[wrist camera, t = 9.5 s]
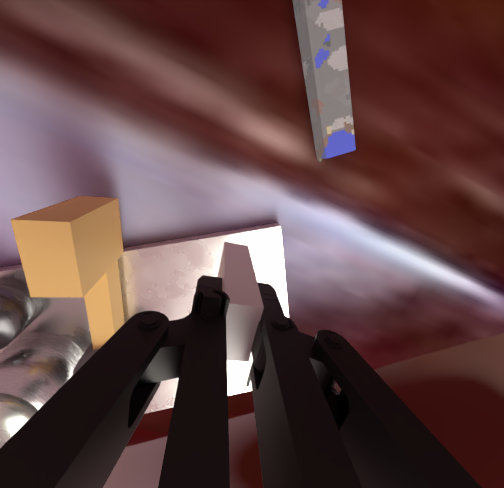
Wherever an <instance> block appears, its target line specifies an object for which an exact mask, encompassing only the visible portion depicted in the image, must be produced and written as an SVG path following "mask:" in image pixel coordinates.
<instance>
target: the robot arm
mask: <svg viewBox="0 0 504 488" xmlns="http://www.w3.org/2000/svg"><path fill="white" fill-rule="evenodd" d="M251 352H252V359H253V361H252V365H251V368H250V372H249V375H248V379H247V383H246V387H249V384H250V381H251V385H252V393H253V402H254V410H255V418H256V427H257V436H258V444H259V453H260V461H261V469H262V478H263V487H264V488H481V487H480V485H479V484H478V483H477V482H476V481H475V480H474V479H473V478H472V477H471V476H470V475H469V473H468V472H467V471H466V470H465V469H464V468H463V467H462V466H461V465H460V464H459V462H458V461H457V460H456V459H455V458H454V457H453V456H452V455H451V454H450V453H449V452H448V451H447V449H445V447H444V446H443V445H442V444H441V443H440V442H439V441H438V440H437V439H436V437H435V436H434V435H433V434H432V433H431V432H430V431H429V430H428V429H427V428H426V426H425V425H423V423H422V422H421V421H420V420H419V419H418V418H417V417H416V416H415V414H414V413H413V412H412V411H411V410H410V409H409V408H408V407H407V406H406V405H405V404H404V402H403V401H402V400H401V399H400V398H399V397H398V396H397V395H396V394H395V393H394V392H393V391H392V389H391V388H390V387H389V386H388V385H387V384H386V383H385V382H384V381H383V380H382V379H381V377H380V376H379V375H378V374H377V373H376V372H375V371H374V370H373V369H372V368H371V367H370V365H369V364H368V363H367V362H366V361H365V360H364V359H363V358H362V357H361V356H360V355H359V353H358V352H357V351H356V350H355V349H354V348H353V347H352V346H351V345H350V344H349V343H348V341H347V340H346V339H344V338H343V337H342V336H341V335H339V334H337V333H336V332H333V331H330V330H321V331H319V332H318V333H317V334H316V337H312V336H309V335H306V334H304V333H301V332H299V331H298V329H297V327H296V325H295V323H294V322H293V321H292V320H291V319H289V318H288V317H286V316H285V315H284V312H283V309H282V307H281V304H280V302H279V298H278V297H277V293H276V290H275V289H274V288H273V287H272V286H271V285H270V284H266V283H259V282H257V279H256V275H255V271H254V267H253V263H252V259H251V256H250V252H249V248H248V246H247V245H241V244H235V243H229V242H224V246H223V251H222V256H221V261H220V267H219V272H218V277H213V276H206V275H202V276H201V277H200V278H199V279H198V281H197V286H196V292H195V294H194V299H193V305H192V311H191V313H190V314H189V315H187V316H186V317H184V318H181V319H178V320H171V321H169V319H168V317H167V316H166V315H165V314H163V313H160V312H158V311H143V312H139V313H136V314H135V315H133V316H132V317H131V318H130V319H129V320H128V321H127V322H126V323H125V324H124V325H123V326H122V327H121V328H120V329H119V330H118V331H117V332H116V333H115V334H114V335H113V336H112V337H111V338H110V339H109V340H108V341H107V342H106V343H105V344H104V345H103V346H102V347H101V348H100V349H99V350H98V351H97V352H96V353H95V354H94V355H93V356H92V357H91V358H90V359H89V360H88V361H87V362H86V363H85V364H84V365H83V366H82V367H81V368H80V369H79V370H78V371H77V372H76V373H75V374H74V375H73V376H72V377H71V378H70V379H69V380H68V381H67V382H66V383H65V384H64V385H63V386H62V387H61V388H60V389H59V390H58V391H57V392H56V393H55V394H54V395H53V396H52V397H51V398H50V399H49V400H48V401H47V402H46V403H45V404H44V405H43V406H42V407H41V408H40V409H39V410H38V411H37V412H36V413H35V414H34V415H33V416H32V417H31V418H30V419H29V420H28V421H27V422H26V423H25V424H24V425H23V426H22V427H21V428H20V429H19V430H18V431H17V432H16V433H15V434H14V435H13V436H12V437H11V438H10V439H9V440H8V441H7V442H6V443H5V444H4V445H3V446H2V447H1V448H0V488H103V486H104V484H105V483H106V481H107V479H108V477H109V476H110V474H111V472H112V470H113V468H114V467H115V465H116V463H117V461H118V459H119V458H120V456H121V454H122V452H123V450H124V449H125V447H126V445H127V443H128V442H129V440H130V438H131V436H132V434H133V433H134V431H135V429H136V427H137V425H138V424H139V422H140V420H141V418H142V417H143V415H144V413H145V411H146V409H147V408H148V406H149V404H150V402H151V400H152V399H153V397H154V395H155V393H156V392H157V390H158V388H159V386H160V384H161V381H165V380H170V379H174V378H179V380H178V385H177V390H176V396H175V401H174V406H173V412H172V417H171V422H170V428H169V433H168V438H167V444H166V449H165V454H164V459H163V465H162V470H161V475H160V481H159V486H158V488H230V479H229V435H228V388H227V360H233V361H244V362H249V359H250V355H251ZM336 382H337V384H338V385H339V386H340V388H341V389H342V390H341V392H340V393H338V392H337V391H336V390H335V388H334V386H335V384H336Z"/></svg>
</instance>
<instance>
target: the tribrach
mask: <svg viewBox="0 0 504 488" xmlns="http://www.w3.org/2000/svg"><path fill="white" fill-rule="evenodd" d="M224 242H229V243H235V244H241V245H247V246H248V248H249V252H250V256H251V259H252V263H253V267H254V271H255V275H256V279H257V282H259V283H266V284H270V285H271V286H272V287H273V288H274V289H275V290H276V293H277V297H278V298H279V302H280V304H281V307H282V309H283V312H284V315H285V316H286V317H288V318H289V311H288V300H287V288H286V277H285V266H284V254H283V243H282V231H281V225H280V224H279V223H272V224H266V225H260V226H254V227H248V228H242V229H235V230H229V231H223V232H217V233H211V234H204V235H198V236H192V237H186V238H180V239H173V240H167V241H161V242H155V243H149V244H142V245H136V246H130V247H124V248H123V250H124V253H123V254H122V255H121V256H120V257H119V258H118V268H119V277H120V285H121V294H122V303H123V312H124V321H125V323H126V322H127V321H128V320H129V319H130V318H131V317H132V316H133V315H135V314H136V313H139V312H143V311H158V312H160V313H163V314H165V315H166V316H167V317H168V319H169V321H171V320H178V319H181V318H184V317H186V316H187V315H189V314H190V313H191V311H192V305H193V299H194V294H195V292H196V286H197V281H198V279H199V278H200V277H201V276H202V275H206V276H213V277H218V272H219V267H220V261H221V256H222V251H223V246H224ZM91 341H92V339H91V333H90V328H89V322H88V316H87V310H86V305H85V299H84V297H30V293H29V289H28V285H27V281H26V278H25V274H24V270H23V266H22V264H19V265H12V266H6V267H0V448H1V447H2V446H3V445H4V444H5V443H6V442H7V441H8V440H9V439H10V438H11V437H12V436H13V435H14V434H15V433H16V432H17V431H18V430H19V429H20V428H21V427H22V426H23V425H24V424H25V423H26V422H27V421H28V420H29V419H30V418H31V417H32V416H33V415H34V414H35V413H36V412H37V411H38V410H39V409H40V408H41V407H42V406H43V405H44V404H45V403H46V402H47V401H48V400H49V399H50V398H51V397H52V396H53V395H54V394H55V393H56V392H57V391H58V390H59V389H60V388H61V387H62V386H63V385H64V384H65V383H66V382H67V381H68V380H69V379H70V378H71V377H72V375H73V370H74V368H75V366H76V364H77V363H78V361H79V360H80V358H81V357H82V355H83V354H84V352H85V351H86V349H87V348H88V346H89V344H90V343H91ZM252 361H253V359H252V352H251V355H250V359H249V362H244V361H233V360H227V388H228V396H230V395H234V394H239V393H244V392H249V391H252V385H251V381H250V384H249V387H246V383H247V379H248V375H249V372H250V368H251V365H252ZM178 380H179V378H174V379H170V380H165V381H161V384H160V386H159V388H158V390H157V392H156V393H155V395H154V397H153V399H152V400H151V402H150V404H149V406H148V408H147V409H146V411H145V413H149V412H154V411H159V410H163V409H168V408H173V406H174V401H175V396H176V390H177V385H178Z"/></svg>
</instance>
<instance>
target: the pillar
mask: <svg viewBox="0 0 504 488" xmlns="http://www.w3.org/2000/svg"><path fill="white" fill-rule="evenodd" d="M293 7H294V13H295V20H296V26H297V33H298V39H299V46H300V52H301V59H302V65H303V72H304V78H305V85H306V91H307V98H308V104H309V111H310V117H311V124H312V130H313V137H314V143H315V150H316V156H317V160H319V162H321V161H322V160H321V159H322V158H324V159H326V158H330V157H334V156H337V155H341V154H344V153H348V152H351V151H354V150H356V148H355V137H354V127H353V116H352V106H351V95H350V84H349V74H348V63H347V53H346V42H345V31H344V21H343V10H342V0H293Z"/></svg>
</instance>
